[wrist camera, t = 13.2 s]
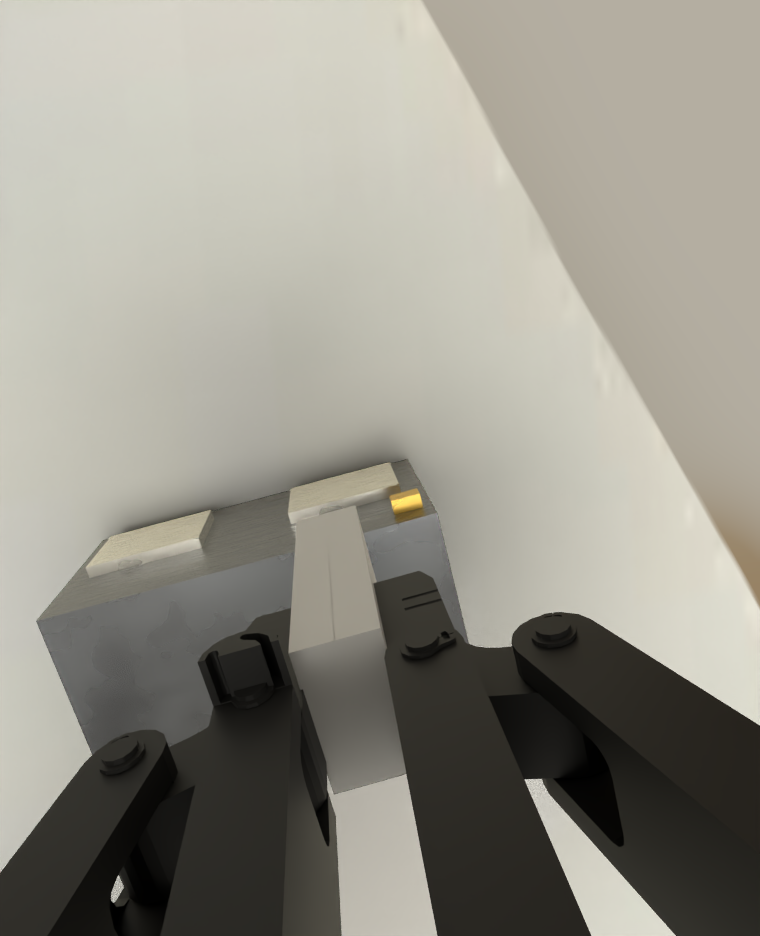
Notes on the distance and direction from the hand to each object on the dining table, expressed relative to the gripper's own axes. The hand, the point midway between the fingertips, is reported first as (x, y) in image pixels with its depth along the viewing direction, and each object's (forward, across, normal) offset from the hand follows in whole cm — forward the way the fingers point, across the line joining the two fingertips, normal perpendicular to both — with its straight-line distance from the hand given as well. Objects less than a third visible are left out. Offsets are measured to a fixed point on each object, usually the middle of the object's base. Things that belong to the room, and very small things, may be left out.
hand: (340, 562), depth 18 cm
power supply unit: (+19, -4, -7) cm, 20 cm away
